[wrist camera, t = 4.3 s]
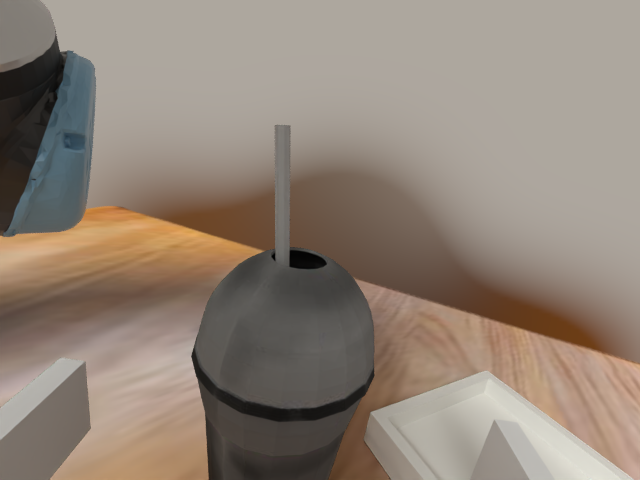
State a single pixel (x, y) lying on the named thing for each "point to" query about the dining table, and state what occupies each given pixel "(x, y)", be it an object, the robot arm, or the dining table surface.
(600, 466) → the tray
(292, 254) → the beverage cup
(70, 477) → the dining table surface
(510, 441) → the robot arm
